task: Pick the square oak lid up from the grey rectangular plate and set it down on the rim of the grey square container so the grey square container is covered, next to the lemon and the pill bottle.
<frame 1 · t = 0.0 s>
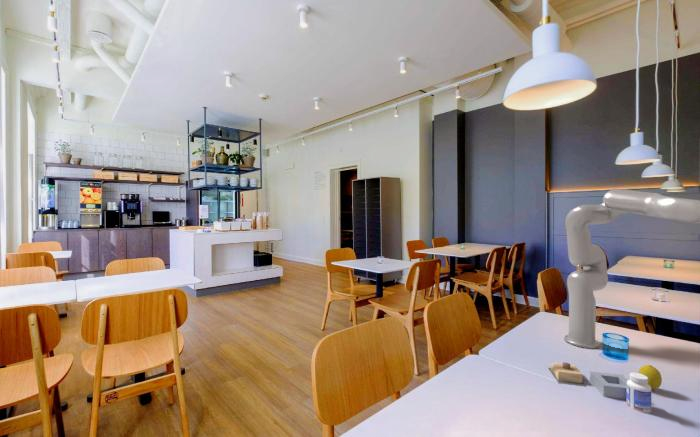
pill bottle: (638, 409, 94), on the table
lemon: (649, 390, 104), on the table
grey square container: (613, 392, 103), on the table
grey rectangular plate: (566, 378, 111), on the table
lid: (566, 376, 111), point 1 cm above the table, touching grey rectangular plate
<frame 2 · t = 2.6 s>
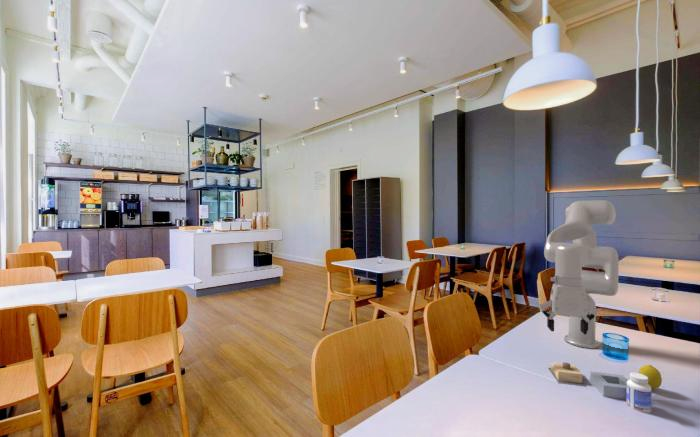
hand: (567, 331, 111), 16 cm above the table, tool pointing down, fingers open, 9 cm apart
nothing on the table moved.
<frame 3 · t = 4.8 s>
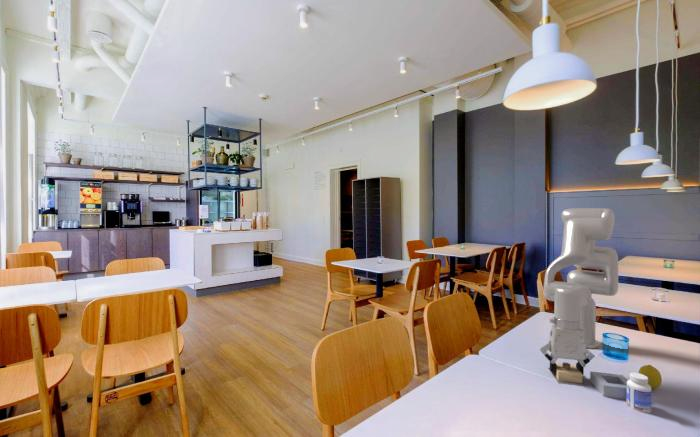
hand: (566, 374, 111), 1 cm above the table, tool pointing down, fingers closed on lid, 7 cm apart
lid: (566, 376, 111), point 1 cm above the table, touching gripper, grey rectangular plate
everything else where it was.
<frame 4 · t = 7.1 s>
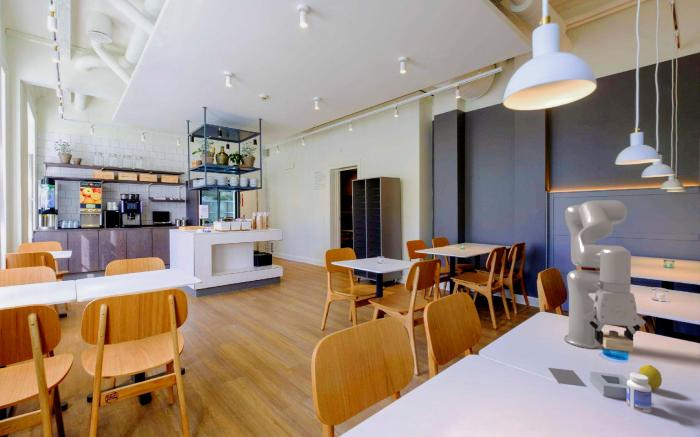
hand: (613, 343, 102), 16 cm above the table, tool pointing down, fingers closed on lid, 7 cm apart
lid: (613, 345, 102), point 15 cm above the table, touching gripper
everything else where it was.
when the fingers open (6 cm above the table, at t = 9.5 s): lid drops 1 cm, resting on grey square container.
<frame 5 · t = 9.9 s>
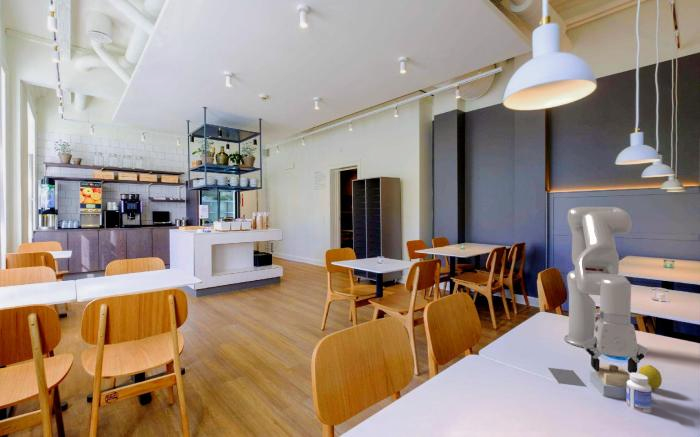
hand: (613, 371, 103), 7 cm above the table, tool pointing down, fingers open, 9 cm apart
lid: (613, 379, 103), point 4 cm above the table, touching grey square container
everything else where it was.
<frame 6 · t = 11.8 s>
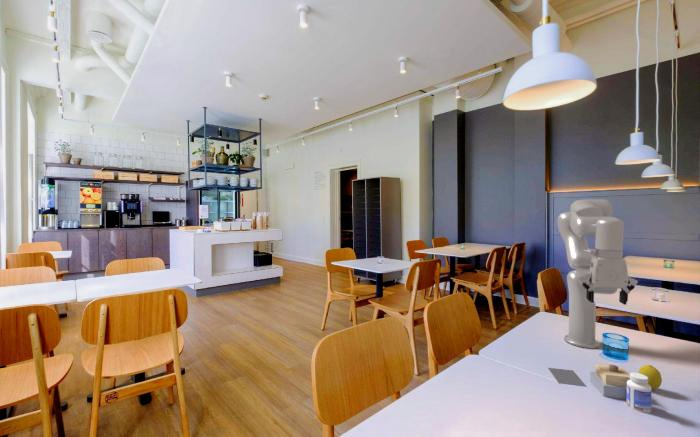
hand: (606, 302, 114), 25 cm above the table, tool pointing down, fingers open, 9 cm apart
nothing on the table moved.
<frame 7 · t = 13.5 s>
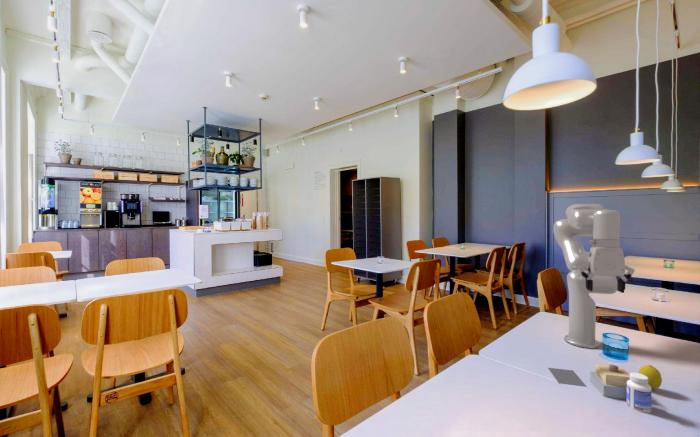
hand: (604, 290, 118), 28 cm above the table, tool pointing down, fingers open, 9 cm apart
nothing on the table moved.
at the end: lid 0.0 cm off-centre on the grey square container, point 4.0 cm above the grey square container's base; lid tilted 0°; the gripper is holding nothing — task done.
